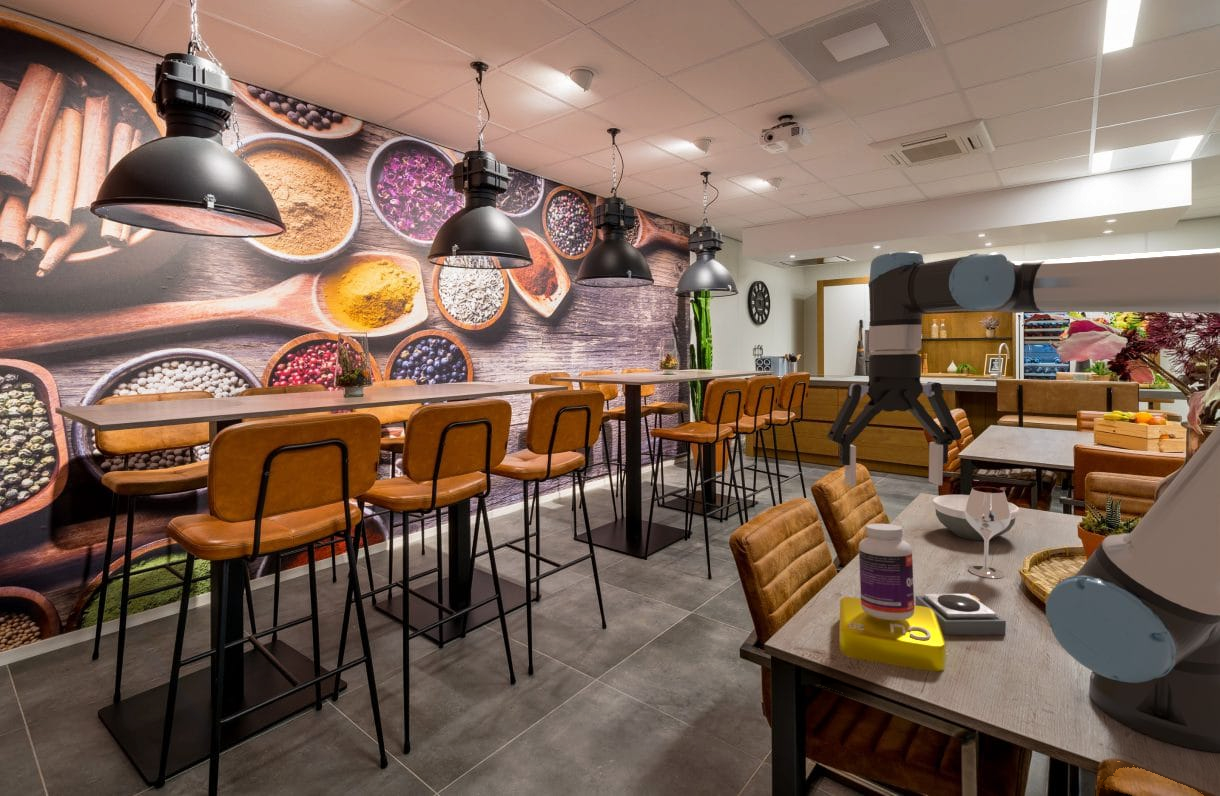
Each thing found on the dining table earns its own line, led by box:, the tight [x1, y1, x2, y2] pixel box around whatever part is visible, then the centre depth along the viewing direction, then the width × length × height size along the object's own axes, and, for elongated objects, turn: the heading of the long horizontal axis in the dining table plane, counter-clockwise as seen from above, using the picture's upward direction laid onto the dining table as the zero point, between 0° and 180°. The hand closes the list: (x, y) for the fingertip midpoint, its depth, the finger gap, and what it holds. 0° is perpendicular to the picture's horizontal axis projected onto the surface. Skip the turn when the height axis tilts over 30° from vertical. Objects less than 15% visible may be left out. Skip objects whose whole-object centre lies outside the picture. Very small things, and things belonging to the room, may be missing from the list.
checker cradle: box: [915, 594, 1007, 636], centre depth 101 cm, size 10×10×3 cm
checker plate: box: [923, 593, 997, 620], centre depth 101 cm, size 8×8×2 cm
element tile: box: [838, 596, 947, 672], centre depth 95 cm, size 15×15×5 cm
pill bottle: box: [858, 523, 915, 620], centre depth 95 cm, size 8×8×14 cm
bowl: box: [932, 494, 1020, 541], centre depth 147 cm, size 19×19×8 cm
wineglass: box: [965, 486, 1011, 579], centre depth 122 cm, size 8×8×18 cm
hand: (892, 484), depth 93 cm, fingers open, 13 cm apart
